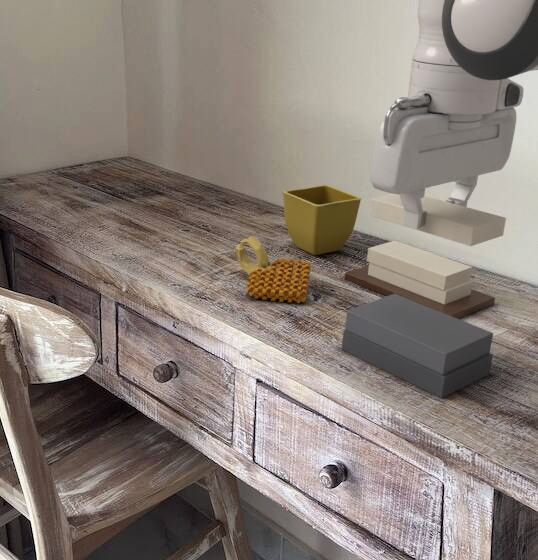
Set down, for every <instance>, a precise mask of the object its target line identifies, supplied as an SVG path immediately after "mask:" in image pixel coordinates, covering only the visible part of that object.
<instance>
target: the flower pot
mask: <svg viewBox="0 0 538 560" xmlns="http://www.w3.org/2000/svg"><path fill="white" fill-rule="evenodd" d="M282 196H283V211H284V221H285V226H286V230H287V232H288V235H289V237H290V238H291V240H292V242H293V244H294V246H295V247H297V248H299V249H301V250H303V251H305V252H307V253H309V254H311V255H313V256H319V255H324V254H329V253H332V252H338V251H340V250H341V249H342V248H343V247H344V245H345V244H346V243H347V242H348V240H349V238H351V235H352V233H353V231H354V228H355V225H356V221H357V218H358V213H359V209H360V205H361V200H362V198H361V197H360V196H357V195H356V194H355V195H354V194H352V193H349V192H348V191H347V192H346V191H343V190H342V189H339V188H336V187H334V186H331V185H327V184H320V185H316V186H315V185H314V186H309V187H304V188H303V187H302V188H295V189H289V190H284V191H282Z"/></svg>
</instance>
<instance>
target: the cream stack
mask: <svg viewBox="0 0 538 560" xmlns="http://www.w3.org/2000/svg"><path fill="white" fill-rule="evenodd" d="M366 262H368V265H366V266H362V267H359V268H355V269H353V270H348V271H345V272H344V280H347V281H349V282H351V283H353V284H356V285H358V286H361V287H364V288H366V289H369V290H371V291H374V292H376V293H378V294H381V295H383V296H385V297H387V296H390V295H393V294H397V295H399V296H402V297H404V298H407V299H409V300H412V301H414V302H417V303H419V304H422V305H424V306H427V307H429V308H432V309H434V310H437V311H439V312H442V313H444V314H447V315H449V316H452V317H454V318H457V319H459V320H460V319H461V318H464V317H467V316H469V315H471V314H473V313H476V312H478V311H481V310H483V309H486V308H488V307H490V306H491V307H492V306H493V305H495V300H496V297H495V296H491V295H489V294H487V293H483V292H480V291H478V290H476V289H473V283H474V282H473V280H472V279H471V278H472V273H473V266H471V265H469V264H468V265H467V264H466V263H462V262H459V261H456V260H453V259H450V258H447V257H444V256H442V255H438V254H436V253H433V252H430V251H427V250H424V249H422V248H419V247H415V246H412V245H410V244H406V243H404V242H400V241H398V240H392V241H389V242H385V243H381V244H378V245H375V246H371V247H368V248H367V255H366Z"/></svg>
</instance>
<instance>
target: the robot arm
mask: <svg viewBox="0 0 538 560" xmlns="http://www.w3.org/2000/svg"><path fill="white" fill-rule="evenodd" d="M417 20H418V28H419V29H418V31H419V33H418V40H417V43H416V46H415V48H414V50H413V54H412V59H411V67H410V75H409V76H410V77H409V83H408V91H407V96H403V97H399V98H397V99H395V101H394V103H393V104H392V105H391V106H390V107H389V109H388V110H387V111H386V112H385V114H384V119H382V122H381V123H380V126H379V128H378V131H377V135H376V140H375V144H374V148H373V154H372V160H371V163H370V170H369V171H370V172H369V179H370V182H371V185H372V187H373V188H374V189H375V190H378V191H381V192H386V193H388V194H399V195H400V198H401V201H402V204H403V207H404V210H405V215H404V225H405V226H404V227H406V228H409V229H413V230H416V229H417V228H420V227H423V226H424V225H425V223H426V215H427V211H424V210H422V204H421V198H423V197H424V196H425V194H426V189H428V188H431V187H436V186H441V185H445V184H449V183H452V182H454V183H455V184H454V187H453V189H452V192H451V195H450V197H448V198H446V199H445V202H449V203H453V204H457V205H460V206H464V207H468V201H469V200H470V198H471V196H472V194H473V192H474V190H475V189H476V187H477V185H478V179H479V176H482V175H486V174H490V173H494V172H499V171H502V170H503V168H504V167H505V166H506V164H507V163H508V160H509V158H510V155H511V152H512V148H513V147H512V146H513V142H514V138H515V132H516V126H517V111H516V109H515V108H517V107H519V106H520V105H522V102H523V98H524V87H523V86H522V85H521V84H520V83H518V82H516V81H514V80H512V79H510V78H513V77H515V76H519V75H521V74H525V73H528V72H532V71H533V72H534V71H538V0H418V7H417Z"/></svg>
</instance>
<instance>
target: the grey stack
mask: <svg viewBox="0 0 538 560" xmlns="http://www.w3.org/2000/svg"><path fill="white" fill-rule="evenodd" d="M345 317H346V318H345V325H344V330H343V332H342V333H343V334H342V343H341V350H342V351H343V352H346V353H348V354H350V355H352V356H354V357H356V358H358V359H361V360H362V361H365V362H367V363H369V364H371V365H373V366H374V367H377V368H379V369H381V370H383V371H385V372H387V373H388V374H391V375H393V376H395V377H397V378H399V379H401V380H403V381H405V382H408V383H410V384H411V385H413V386H415V387H418V388H419V389H422V390H424V391H426V392H428V393H429V394H432V395H434V396H436V397H438V398H440V399H443V398H445V397H447V396H449V395H451V394H453V393H455V392H457V391H459V390H461V389H463V388H465V387H467V386H468V385H471V384H473V383H475V382H477V381H479V380H481V379H483V378H485V377H487V376H489V375H490V372H491V365H492V362H493V354H492V353H491V347H492V342H493V337H494V332H491V331H489V330H486V329H484V328H481V327H479V326H477V325H474V324H471V323H469V322H467V321H464V320H461V319H460V318H459V319H457V318H454V317H452V316H449V315H447V314H444V313H442V312H439V311H437V310H434V309H432V308H429V307H427V306H424V305H422V304H419V303H417V302H414V301H412V300H409V299H407V298H404V297H402V296H399V295H397V294H393V295H390V296H384V297H381V298H378V299H376V300H373V301H370V302H367V303H364V304H362V305H359V306H355V307H352V308H349V309H347V310H346V316H345Z"/></svg>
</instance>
